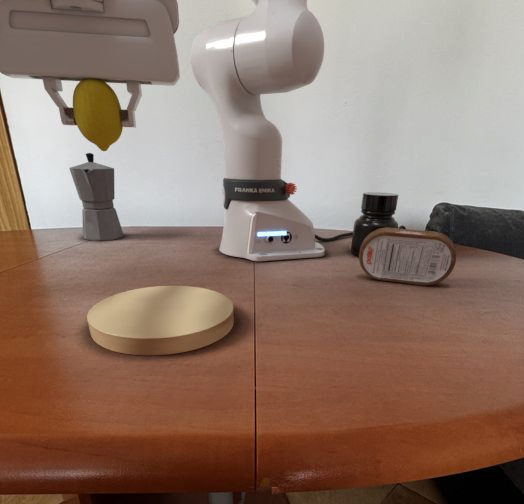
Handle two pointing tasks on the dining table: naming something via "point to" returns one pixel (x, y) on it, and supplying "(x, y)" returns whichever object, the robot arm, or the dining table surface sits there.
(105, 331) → the birch disc
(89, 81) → the lemon
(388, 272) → the tin
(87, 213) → the coffeepot
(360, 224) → the ink bottle
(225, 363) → the dining table surface
